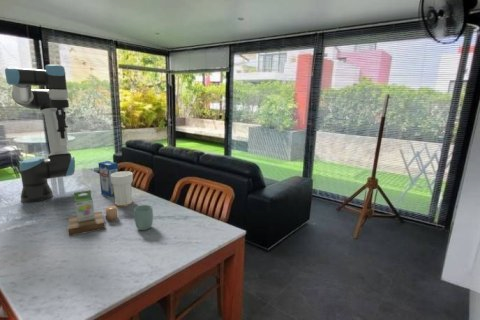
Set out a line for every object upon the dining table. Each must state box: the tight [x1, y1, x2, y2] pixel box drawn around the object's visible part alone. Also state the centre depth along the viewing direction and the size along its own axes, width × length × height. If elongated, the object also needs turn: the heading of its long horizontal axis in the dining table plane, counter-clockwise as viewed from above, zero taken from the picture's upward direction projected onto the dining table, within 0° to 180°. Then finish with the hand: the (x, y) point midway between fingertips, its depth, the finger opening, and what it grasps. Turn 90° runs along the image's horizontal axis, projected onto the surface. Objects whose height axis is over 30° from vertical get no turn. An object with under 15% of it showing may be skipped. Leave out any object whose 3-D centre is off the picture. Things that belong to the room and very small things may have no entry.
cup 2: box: [133, 204, 154, 231], centre depth 124 cm, size 8×8×10 cm
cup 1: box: [110, 170, 134, 207], centre depth 151 cm, size 11×11×17 cm
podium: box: [67, 210, 106, 236], centre depth 126 cm, size 14×14×3 cm
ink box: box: [74, 189, 95, 223], centre depth 124 cm, size 7×4×13 cm, turn 124°
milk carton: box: [97, 160, 119, 198], centre depth 164 cm, size 10×6×20 cm, turn 58°
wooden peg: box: [105, 205, 119, 222], centre depth 133 cm, size 5×5×6 cm
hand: (64, 142), depth 134 cm, fingers open, 13 cm apart
